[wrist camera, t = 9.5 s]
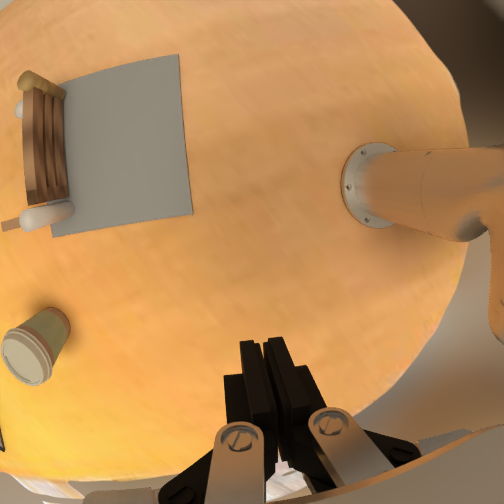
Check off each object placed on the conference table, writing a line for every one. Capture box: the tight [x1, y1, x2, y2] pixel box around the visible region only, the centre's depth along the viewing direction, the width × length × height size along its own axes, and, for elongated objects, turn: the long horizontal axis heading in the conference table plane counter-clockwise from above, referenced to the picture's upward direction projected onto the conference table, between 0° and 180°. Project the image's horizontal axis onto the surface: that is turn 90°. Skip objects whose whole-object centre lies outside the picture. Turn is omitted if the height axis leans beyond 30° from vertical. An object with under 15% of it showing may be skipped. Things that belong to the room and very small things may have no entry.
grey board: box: [1, 54, 193, 238], centre depth 28 cm, size 24×22×11 cm
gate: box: [17, 70, 68, 206], centre depth 26 cm, size 16×2×9 cm, turn 5°
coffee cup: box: [1, 307, 70, 386], centre depth 32 cm, size 8×8×12 cm
